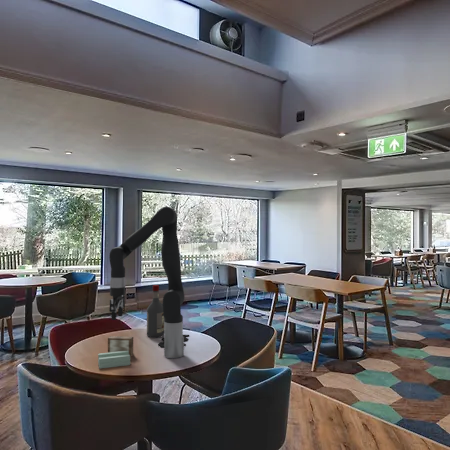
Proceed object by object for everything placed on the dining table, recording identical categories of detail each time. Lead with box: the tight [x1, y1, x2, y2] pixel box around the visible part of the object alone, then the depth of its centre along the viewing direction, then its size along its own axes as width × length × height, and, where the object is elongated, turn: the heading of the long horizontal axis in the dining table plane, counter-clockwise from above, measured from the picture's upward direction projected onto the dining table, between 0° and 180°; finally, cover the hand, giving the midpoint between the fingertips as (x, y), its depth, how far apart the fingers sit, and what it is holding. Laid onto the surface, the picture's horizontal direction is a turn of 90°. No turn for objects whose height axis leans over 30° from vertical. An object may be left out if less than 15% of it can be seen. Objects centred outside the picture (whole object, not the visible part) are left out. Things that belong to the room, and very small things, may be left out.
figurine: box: [157, 334, 190, 349], centre depth 214 cm, size 16×1×30 cm
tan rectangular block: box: [107, 335, 134, 358], centre depth 193 cm, size 12×4×9 cm, turn 86°
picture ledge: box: [97, 351, 131, 370], centre depth 181 cm, size 14×10×4 cm
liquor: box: [146, 284, 164, 339], centre depth 228 cm, size 9×9×30 cm
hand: (117, 317), depth 194 cm, fingers open, 8 cm apart
